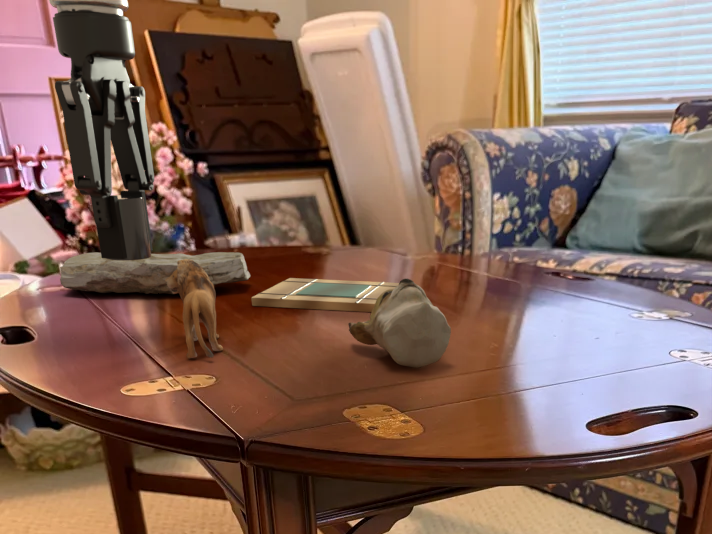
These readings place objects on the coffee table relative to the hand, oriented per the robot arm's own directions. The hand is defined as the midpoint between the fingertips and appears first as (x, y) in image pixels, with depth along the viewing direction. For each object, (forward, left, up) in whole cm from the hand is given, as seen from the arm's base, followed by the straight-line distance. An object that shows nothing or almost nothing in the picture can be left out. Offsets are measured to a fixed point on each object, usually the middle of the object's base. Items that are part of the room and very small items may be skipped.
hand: (127, 253), depth 89 cm
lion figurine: (+9, -2, -10) cm, 13 cm away
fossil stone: (-12, +28, -10) cm, 32 cm away
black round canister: (0, 0, 0) cm, 0 cm away
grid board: (+16, +28, -10) cm, 34 cm away
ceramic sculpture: (+33, -1, -10) cm, 35 cm away
